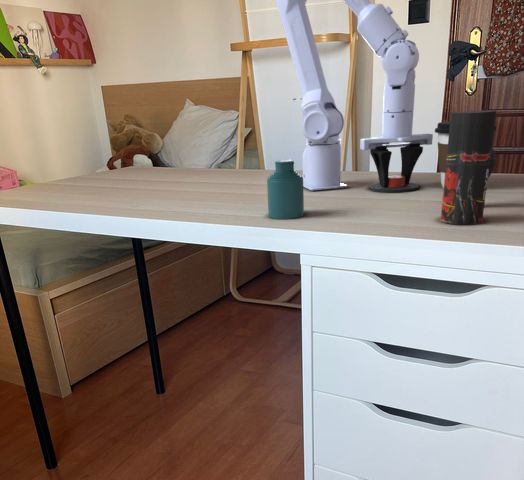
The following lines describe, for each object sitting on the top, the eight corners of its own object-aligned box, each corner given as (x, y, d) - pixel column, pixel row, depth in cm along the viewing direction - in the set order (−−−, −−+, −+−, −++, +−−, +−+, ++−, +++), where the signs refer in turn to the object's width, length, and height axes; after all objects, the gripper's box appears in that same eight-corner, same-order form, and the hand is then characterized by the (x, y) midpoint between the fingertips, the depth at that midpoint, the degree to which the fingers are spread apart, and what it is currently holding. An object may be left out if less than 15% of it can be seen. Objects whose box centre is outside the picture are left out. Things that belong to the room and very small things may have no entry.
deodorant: (485, 224, 76) (500, 111, 70) (442, 224, 78) (453, 113, 71) (478, 215, 82) (492, 109, 75) (438, 216, 83) (448, 111, 76)
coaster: (361, 186, 111) (361, 184, 111) (404, 182, 113) (405, 180, 113) (381, 194, 102) (381, 191, 102) (428, 189, 104) (428, 187, 104)
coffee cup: (445, 181, 111) (451, 120, 106) (497, 185, 104) (506, 119, 99) (419, 189, 104) (424, 124, 99) (473, 194, 97) (481, 124, 92)
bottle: (261, 215, 90) (259, 161, 87) (290, 210, 93) (288, 157, 89) (281, 220, 86) (279, 164, 82) (311, 215, 89) (310, 159, 85)
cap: (382, 184, 110) (383, 175, 109) (403, 183, 109) (403, 174, 108) (385, 187, 106) (385, 178, 105) (406, 187, 105) (407, 177, 105)
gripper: (371, 114, 97) (368, 191, 102) (443, 109, 99) (436, 184, 105) (356, 114, 103) (355, 186, 109) (424, 109, 105) (419, 179, 111)
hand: (394, 185), depth 107 cm, fingers closed on cap, 4 cm apart
